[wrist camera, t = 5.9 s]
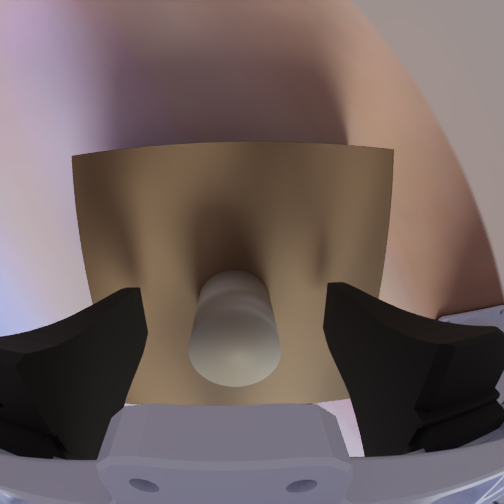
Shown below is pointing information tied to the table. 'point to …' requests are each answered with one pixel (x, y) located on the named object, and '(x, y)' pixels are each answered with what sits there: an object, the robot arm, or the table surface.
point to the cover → (234, 260)
